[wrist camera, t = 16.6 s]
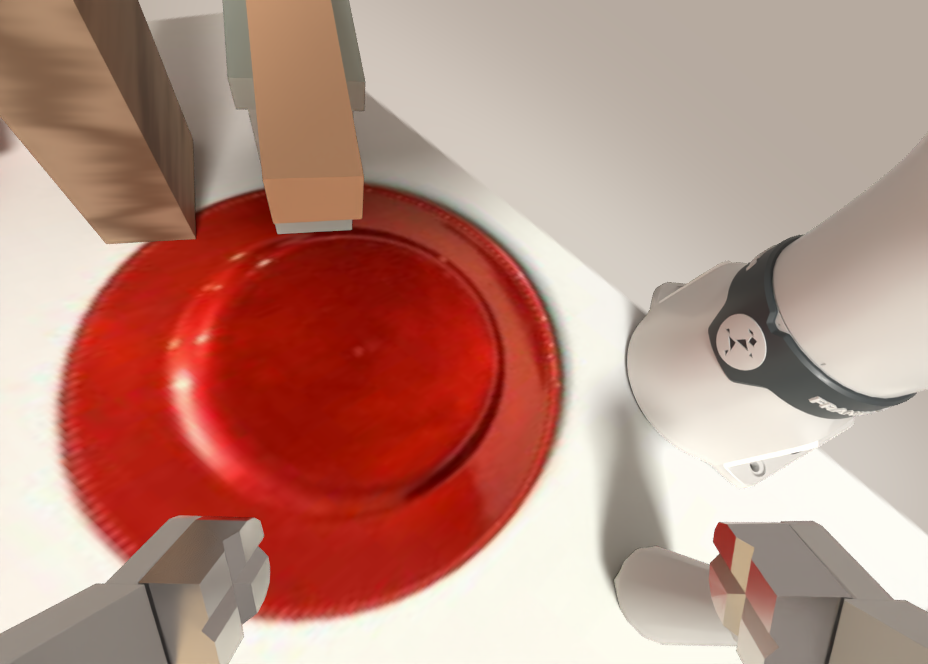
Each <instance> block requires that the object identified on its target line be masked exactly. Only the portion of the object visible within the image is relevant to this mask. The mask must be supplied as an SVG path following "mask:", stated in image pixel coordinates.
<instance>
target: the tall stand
mask: <svg viewBox="0 0 928 664" xmlns="http://www.w3.org/2000/svg"><path fill="white" fill-rule="evenodd" d="M0 117H1V118H2V119H3V120H4V122H5V123H6V124H7V125H8V126H9V128H10V129H11V130H12V131H13V132H14V134H15V135H16V136H17V137H18V138H19V140H20V141H21V142H22V143H23V144H24V146H25V147H26V148H27V149H28V150H29V152H30V153H31V154H32V155H33V157H34V158H35V159H36V160H37V161H38V163H39V164H40V165H41V166H42V167H43V169H44V170H45V171H46V172H47V173H48V175H49V176H50V177H51V178H52V179H53V181H54V182H55V183H56V184H57V185H58V187H59V188H60V189H61V190H62V191H63V193H64V194H65V195H66V196H67V197H68V199H69V200H70V201H71V202H72V203H73V205H74V206H75V207H76V208H77V209H78V211H79V212H80V213H81V214H82V215H83V217H84V218H85V219H86V220H87V221H88V223H89V224H90V225H91V226H92V227H93V229H94V230H95V231H96V232H97V233H98V235H99V236H100V237H101V238H102V240H103V241H104V242H105V243H106V244H116V243H133V242H150V241H167V240H185V239H196V228H195V193H194V158H193V139H192V136H191V134H190V131H189V129H188V126H187V124H186V121H185V118H184V116H183V113H182V111H181V108H180V106H179V103H178V101H177V98H176V96H175V93H174V90H173V88H172V85H171V83H170V80H169V78H168V75H167V73H166V70H165V68H164V65H163V63H162V60H161V57H160V55H159V52H158V50H157V47H156V45H155V42H154V40H153V37H152V35H151V32H150V30H149V27H148V24H147V22H146V20H145V17H144V14H143V12H142V10H141V7H140V4H139V2H138V0H0Z"/></svg>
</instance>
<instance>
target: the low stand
mask: <svg viewBox="0 0 928 664" xmlns="http://www.w3.org/2000/svg"><path fill="white" fill-rule="evenodd" d="M331 3H332V8H333V13H334V19H335V24H336V30H337V35H338V40H339V46H340V51H341V56H342V62H343V67H344V72H345V78H346V83H347V89H348V94H349V99H350V105H351V110H352V115H353V111H364V105H365V78H364V73H363V68H362V63H361V58H360V53H359V48H358V43H357V38H356V33H355V28H354V23H353V18H352V13H351V9H350V4H349V0H331ZM223 14H224V30H225V45H226V61H227V76H228V81H229V85H230V89H231V92H232V96H233V100H234V104H235V108H236V109H248V112H249V116H250V120H251V125H252V129H253V133H254V137H255V142H256V146H257V150H258V154H259V159H260V163H261V157H260V146H259V136H258V125H257V114H256V104H255V93H254V83H253V72H252V61H251V51H250V40H249V29H248V19H247V8H246V0H223ZM275 226H276V230H277V234H288V233H305V232H322V231H339V230H352V220H334V221H316V222H297V223H279V224H275Z"/></svg>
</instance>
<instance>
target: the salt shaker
mask: <svg viewBox="0 0 928 664" xmlns="http://www.w3.org/2000/svg"><path fill="white" fill-rule="evenodd" d="M709 570H710V565H709V564H706V563H704V562H701V561H698V560H695V559H692V558H689V557H687V556H684V555H681V554H678V553H675V552H672V551H670V550H667V549H664V548H661V547H658V546H652V547H645V548H639V549H636V550H635V551H634V552H633V553H632V554H631V555H630V556H629V557H628V558H627V559H626V560H625V561H624V563H623V565H622V567H621V570H620V571H619V573H618V574H617V576H616V578H615V579H614V584H615V588H616V593H617V597H618V602H619V607H620V610H621V612H622V613H623V615H624V617H625V618H626V620H627V621H628V622H629V623H630V624H631V625H632V626H633V627H634V628H635V629H636V630H637V631H638V632H639V633H640V634H641V635H642V636H643V637H645V638H647V639H649V640H652V641H655V642H657V643H660V644H663V645H700V646H737V642H738V636H736V635H735V634H734V633H732V632H731V631H730V630H729V629H727V628H726V627H725V626H723V624H722V622H721V620H720V618H719V616H718V614H717V612H716V610H715V607H714V604H713V601H712V598H711V593H710V586H709Z"/></svg>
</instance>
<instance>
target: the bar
mask: <svg viewBox="0 0 928 664" xmlns="http://www.w3.org/2000/svg"><path fill="white" fill-rule="evenodd" d="M246 8H247V19H248V29H249V40H250V51H251V61H252V72H253V83H254V93H255V104H256V114H257V125H258V136H259V146H260V157H261V167H262V178H263V183H264V187H265V191H266V195H267V199H268V204H269V208H270V212H271V216H272V220H273V224H279V223H297V222H316V221H334V220H353V219H362V209H363V185H364V174H363V169H362V164H361V158H360V153H359V148H358V142H357V137H356V131H355V126H354V121H353V115H352V110H351V105H350V99H349V94H348V89H347V83H346V78H345V72H344V67H343V62H342V56H341V51H340V46H339V40H338V35H337V30H336V24H335V19H334V13H333V8H332V3H331V0H246Z"/></svg>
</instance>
